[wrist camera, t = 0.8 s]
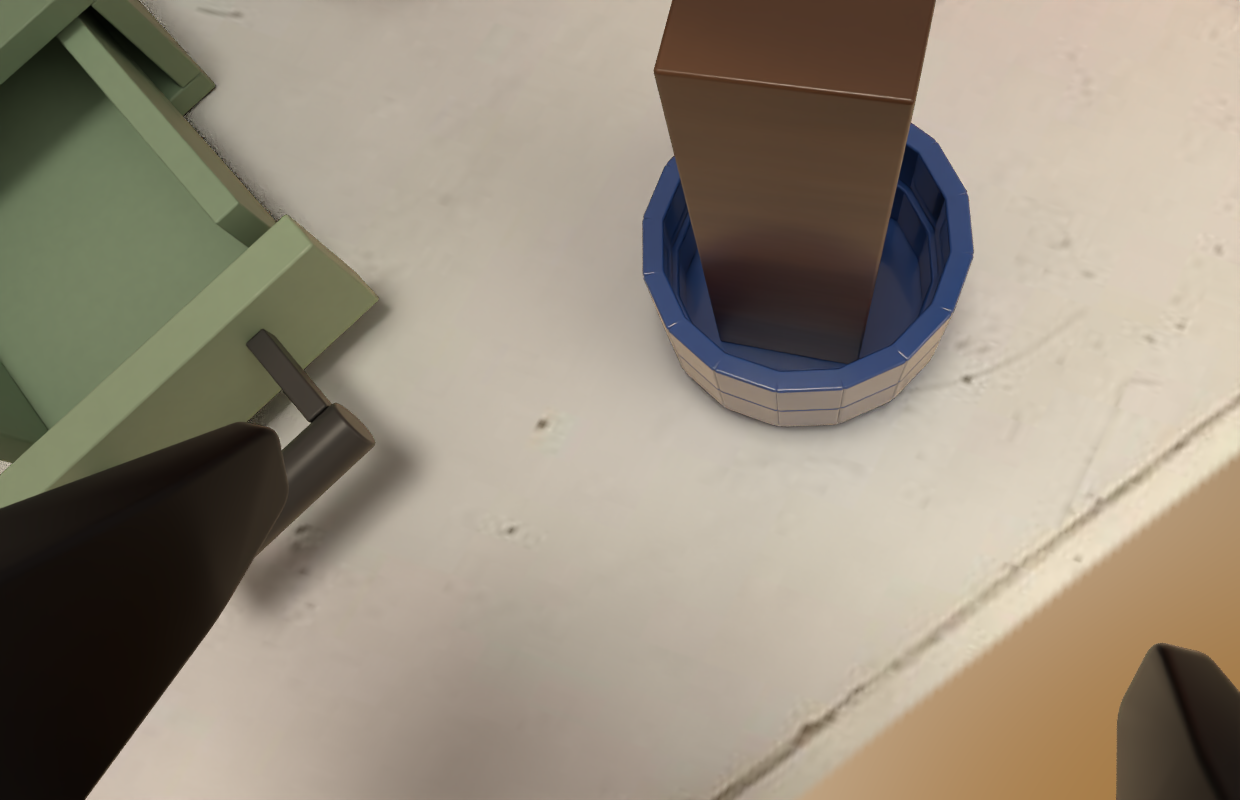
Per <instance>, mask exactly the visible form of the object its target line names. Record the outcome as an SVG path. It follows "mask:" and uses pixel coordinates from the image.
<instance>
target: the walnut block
mask: <svg viewBox="0 0 1240 800" xmlns="http://www.w3.org/2000/svg"><path fill="white" fill-rule="evenodd" d="M935 2H936V0H672V4H671V7H670V11H669V15H668V19H667V22H666V26H665V30H664V34H663V37H662V41H661V45H660V49H659V52H658V56H657V60H656V64H655V67H654V75H655V79H656V83H657V87H658V91H659V95H660V99H661V103H662V107H663V111H664V115H665V119H666V123H667V127H668V131H669V135H670V139H671V143H672V147H673V151H674V155H675V160H676V164H677V168H678V172H679V176H680V180H681V184H682V188H683V192H684V196H685V200H686V204H687V208H688V212H689V216H690V220H691V224H692V228H693V232H694V236H695V240H696V244H697V248H698V252H699V256H700V260H701V264H702V268H703V272H704V276H705V281H706V285H707V289H708V293H709V297H710V301H711V305H712V309H713V313H714V317H715V321H716V325H717V329H718V333H719V337H720V340H721V341H725V342H731V343H736V344H741V345H747V346H752V347H758V348H763V349H769V350H774V351H779V352H785V353H790V354H796V355H801V356H807V357H812V358H817V359H823V360H828V361H834V362H839V363H845V364H849V363H851V362H853V361H855V360H858V359H859V356H860V351H861V347H862V342H863V338H864V333H865V328H866V324H867V319H868V315H869V310H870V306H871V301H872V297H873V292H874V288H875V283H876V278H877V274H878V269H879V265H880V260H881V256H882V251H883V247H884V242H885V238H886V233H887V228H888V224H889V219H890V215H891V210H892V206H893V201H894V197H895V192H896V188H897V183H898V178H899V174H900V169H901V165H902V160H903V156H904V151H905V147H906V142H907V138H908V133H909V128H910V124H911V119H912V115H913V110H914V106H915V101H916V96H917V91H918V86H919V81H920V76H921V71H922V66H923V62H924V57H925V52H926V47H927V42H928V37H929V32H930V27H931V22H932V17H933V12H934V7H935Z"/></svg>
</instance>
